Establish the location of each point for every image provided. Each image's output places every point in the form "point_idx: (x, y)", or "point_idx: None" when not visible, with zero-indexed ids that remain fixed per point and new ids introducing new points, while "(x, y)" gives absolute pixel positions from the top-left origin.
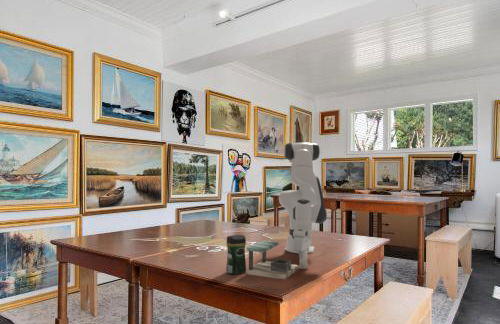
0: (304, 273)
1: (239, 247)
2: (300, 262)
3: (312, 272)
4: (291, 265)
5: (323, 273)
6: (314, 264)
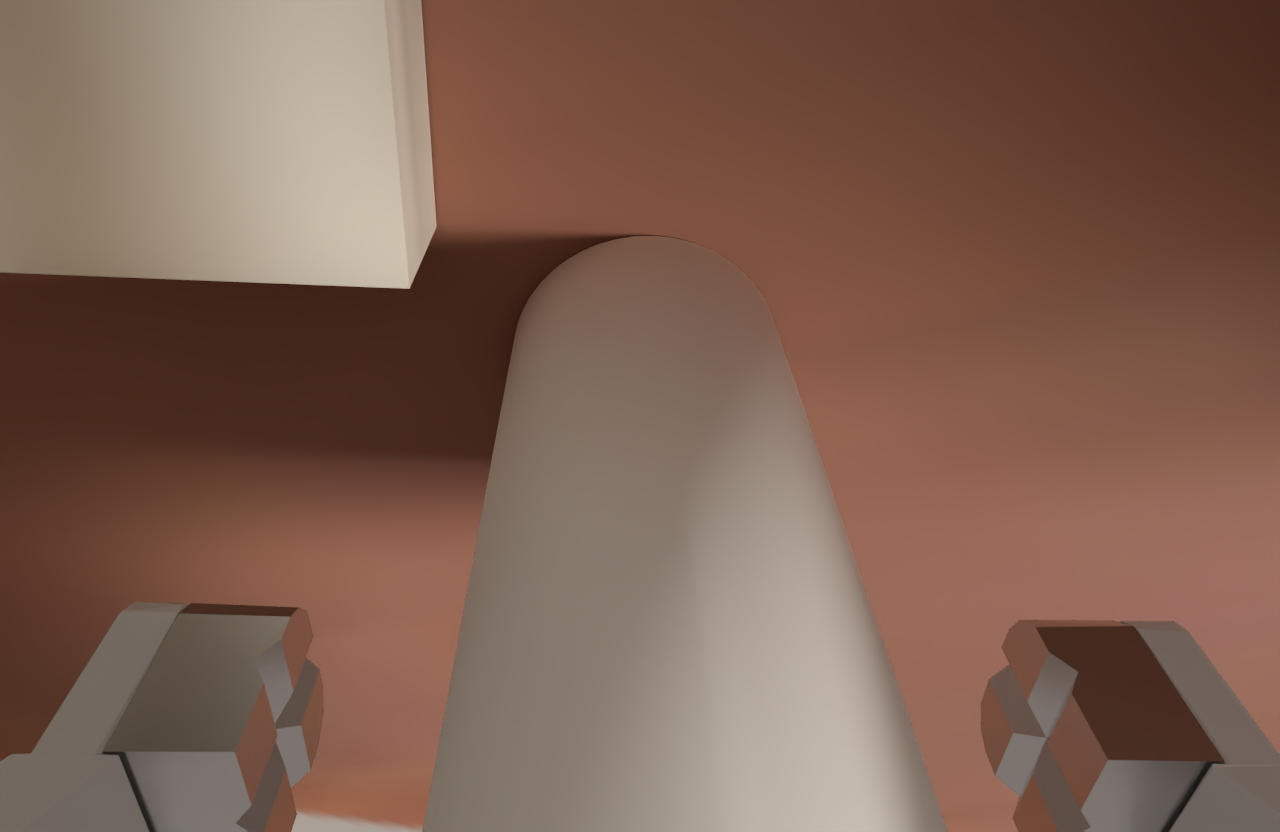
0: (82, 511)
1: None
2: (509, 414)
3: (324, 647)
4: (160, 22)
5: (393, 819)
6: (1188, 546)
